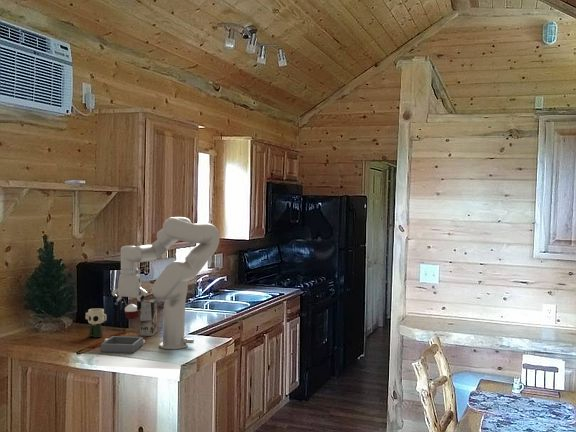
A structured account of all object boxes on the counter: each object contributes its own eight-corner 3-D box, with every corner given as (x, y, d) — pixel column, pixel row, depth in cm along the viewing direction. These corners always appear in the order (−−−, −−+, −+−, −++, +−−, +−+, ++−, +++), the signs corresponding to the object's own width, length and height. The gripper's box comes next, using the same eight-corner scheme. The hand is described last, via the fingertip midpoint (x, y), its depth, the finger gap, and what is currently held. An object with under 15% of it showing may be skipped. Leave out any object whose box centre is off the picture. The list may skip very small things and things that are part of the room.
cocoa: (143, 318, 288) (144, 292, 288) (135, 320, 282) (136, 294, 282) (125, 316, 291) (126, 291, 291) (117, 318, 285) (118, 292, 285)
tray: (143, 344, 278) (143, 337, 278) (133, 353, 263) (133, 345, 263) (112, 343, 278) (112, 336, 278) (100, 352, 263) (101, 343, 263)
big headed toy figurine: (81, 337, 288) (81, 310, 288) (89, 334, 295) (89, 307, 295) (102, 339, 286) (102, 311, 285) (109, 336, 293) (110, 309, 292)
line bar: (144, 343, 281) (145, 340, 281) (143, 344, 279) (143, 341, 279) (106, 341, 282) (106, 338, 282) (104, 342, 280) (104, 339, 280)
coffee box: (152, 336, 295) (153, 302, 295) (139, 335, 295) (140, 302, 295) (157, 331, 304) (157, 299, 304) (144, 331, 305) (144, 299, 304)
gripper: (149, 271, 290) (150, 308, 290) (113, 271, 291) (114, 308, 291) (145, 273, 282) (145, 311, 283) (108, 273, 283) (108, 311, 284)
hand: (129, 309), depth 287 cm, fingers closed on cocoa, 8 cm apart
